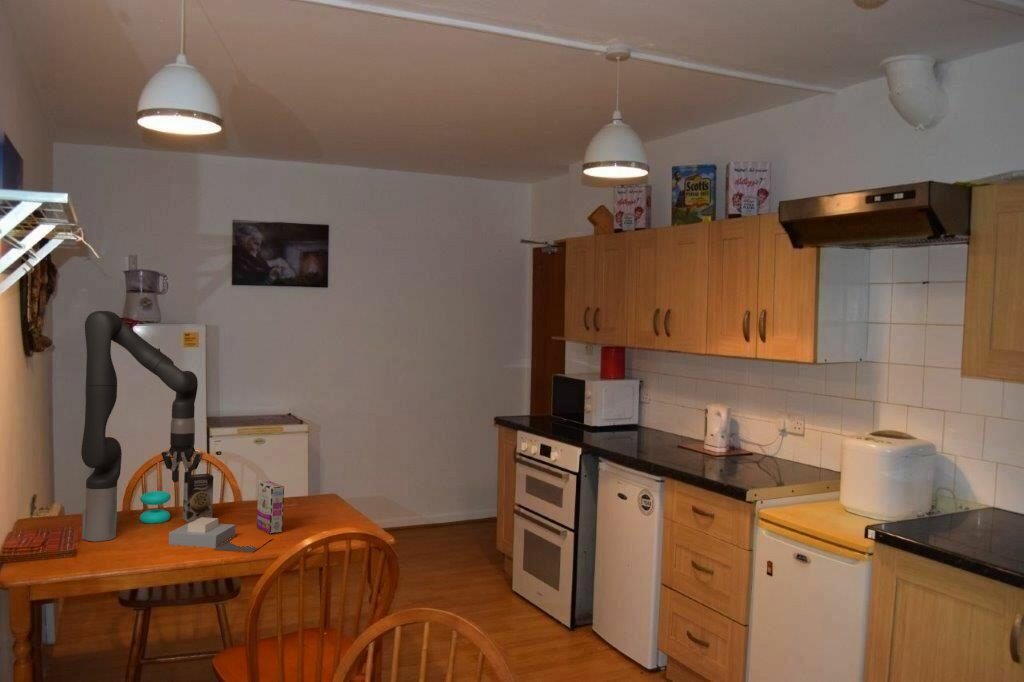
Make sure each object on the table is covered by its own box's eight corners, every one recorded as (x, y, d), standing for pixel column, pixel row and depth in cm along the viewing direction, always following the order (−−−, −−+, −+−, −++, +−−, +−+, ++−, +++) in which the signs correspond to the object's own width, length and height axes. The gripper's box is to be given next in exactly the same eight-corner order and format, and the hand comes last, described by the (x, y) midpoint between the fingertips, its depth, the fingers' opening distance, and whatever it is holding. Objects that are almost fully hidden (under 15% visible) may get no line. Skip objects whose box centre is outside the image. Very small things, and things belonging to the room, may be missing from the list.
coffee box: (186, 522, 285) (187, 478, 285) (182, 518, 291) (183, 474, 290) (212, 519, 291) (213, 475, 290) (207, 515, 296) (209, 472, 295)
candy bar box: (283, 532, 277) (284, 486, 276) (270, 535, 274) (271, 487, 273) (269, 525, 285) (270, 480, 285) (256, 527, 282) (257, 482, 281)
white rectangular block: (187, 531, 260) (187, 524, 260) (201, 524, 269) (201, 517, 269) (205, 532, 259) (205, 525, 259) (218, 525, 268) (218, 518, 268)
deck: (168, 544, 258) (169, 532, 258) (190, 533, 272) (190, 521, 272) (215, 548, 256) (215, 535, 256) (235, 536, 270) (235, 524, 270)
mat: (214, 550, 254) (214, 549, 254) (236, 536, 270) (236, 535, 270) (252, 552, 253) (253, 551, 253) (273, 539, 269) (273, 538, 269)
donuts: (166, 496, 282) (136, 496, 280) (165, 524, 282) (136, 524, 280) (173, 490, 291) (145, 490, 290) (173, 517, 292) (144, 517, 290)
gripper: (156, 431, 261) (155, 483, 261) (197, 433, 259) (195, 486, 260) (168, 428, 268) (167, 478, 269) (208, 430, 267) (207, 481, 267)
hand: (181, 482), depth 264 cm, fingers open, 3 cm apart
